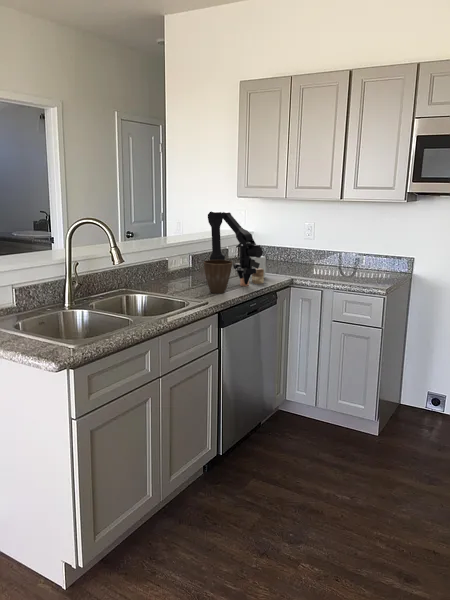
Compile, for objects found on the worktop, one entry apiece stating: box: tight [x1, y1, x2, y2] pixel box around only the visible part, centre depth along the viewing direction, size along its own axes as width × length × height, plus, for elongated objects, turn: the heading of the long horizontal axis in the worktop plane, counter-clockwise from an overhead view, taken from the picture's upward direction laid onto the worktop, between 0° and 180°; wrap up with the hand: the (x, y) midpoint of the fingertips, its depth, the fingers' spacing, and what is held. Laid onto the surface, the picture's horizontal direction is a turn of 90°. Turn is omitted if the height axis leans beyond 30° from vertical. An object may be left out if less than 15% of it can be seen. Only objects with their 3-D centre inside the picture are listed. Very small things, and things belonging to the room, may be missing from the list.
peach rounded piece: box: [239, 278, 250, 287], centre depth 282 cm, size 5×5×4 cm
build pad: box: [249, 280, 269, 286], centre depth 290 cm, size 9×9×1 cm
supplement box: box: [250, 255, 267, 279], centre depth 307 cm, size 7×7×13 cm
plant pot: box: [203, 259, 233, 294], centre depth 264 cm, size 15×15×16 cm
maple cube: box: [251, 276, 265, 285], centre depth 289 cm, size 5×5×4 cm
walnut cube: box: [252, 268, 264, 277], centre depth 288 cm, size 5×5×4 cm
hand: (244, 283), depth 282 cm, fingers closed on peach rounded piece, 5 cm apart
